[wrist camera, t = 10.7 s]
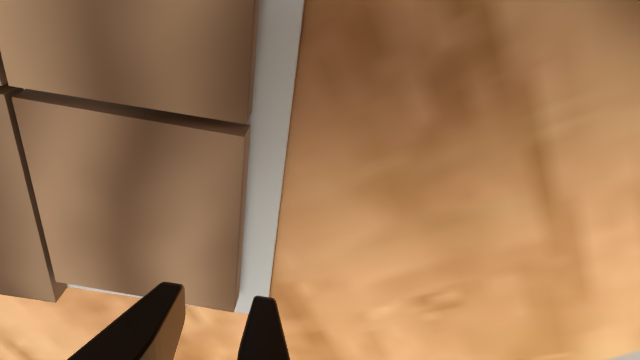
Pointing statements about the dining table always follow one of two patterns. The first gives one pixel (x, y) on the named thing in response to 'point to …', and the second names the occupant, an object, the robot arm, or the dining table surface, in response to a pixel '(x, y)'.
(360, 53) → the dining table surface
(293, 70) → the underlay
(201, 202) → the plank
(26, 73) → the plank
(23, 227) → the laid strip
